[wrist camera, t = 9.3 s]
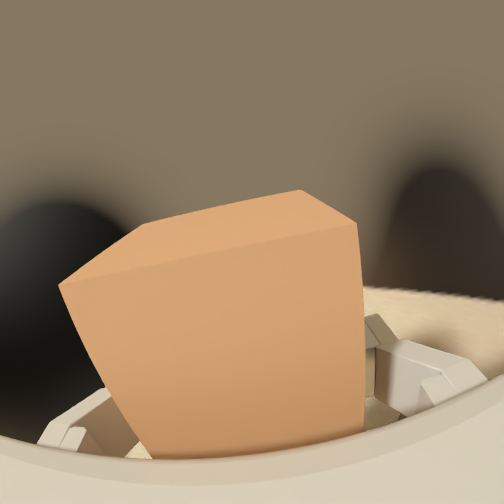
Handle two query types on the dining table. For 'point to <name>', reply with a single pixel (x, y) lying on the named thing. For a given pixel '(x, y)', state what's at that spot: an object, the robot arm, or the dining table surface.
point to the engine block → (230, 327)
